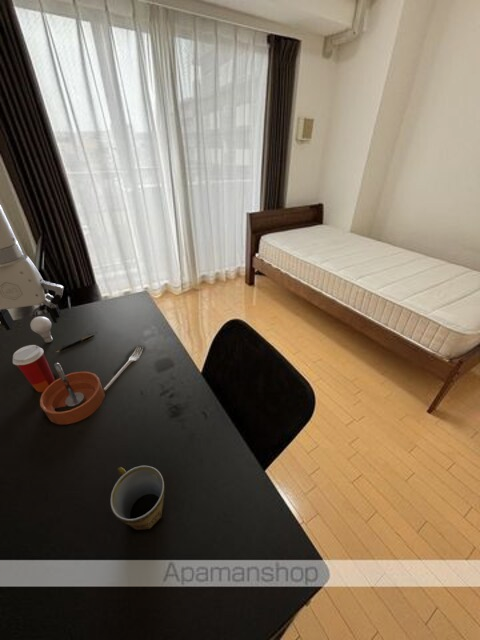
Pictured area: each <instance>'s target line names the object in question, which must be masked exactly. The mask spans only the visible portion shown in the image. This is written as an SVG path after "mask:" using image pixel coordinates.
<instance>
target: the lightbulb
mask: <svg viewBox="0 0 480 640" xmlns="http://www.w3.org/2000/svg"><path fill="white" fill-rule="evenodd" d="M52 325H53V324H52V321H51V320H50V319H49V318H48V317H46V316H43V315H41V316H35V317H34V318H32V319H31V321H30V325H29V327H30V330H31V331H32V332H34V333H35V334H37V335H39V336H40V337H41V338H42V339H43V341H44V343H51V342H52V341H53V340H54V339H53V337H52V335H51V329H52Z"/></svg>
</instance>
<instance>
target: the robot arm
mask: <svg viewBox="0 0 480 640" xmlns="http://www.w3.org/2000/svg"><path fill="white" fill-rule="evenodd" d="M64 288H65V286H63V285H62V284H58V283H54V282H52V281H51V282H50V281H47V280H44V278H43V277H42V275H41V273H40V272H39V270H38V268H37V267H36V265H35V264H34V262H33V261H32V260H31V257H29V256H28V254H24V253H23V251H22V249H21V246H20V244H19V242H18V239H17V237H16V235H15V233H14V231H13V229H12V227H11V224H10V221H9V220H8V218H7V215H6V213H5V211H4V209H3V206H2V204H0V325H1V326H3V327H4V329H5V330H6V331H9V330H10V331H11V329H12V328H13V326H14V325H15V320H14V318H13V317H12V315H11V313H10V311H9V310H11V309H19V308H25V307H33V306H38V305H41V304H43V305H45V306H46V307H48V308H47V311H48V313H49V315H50V317H51V320H52V322H53V323H54V324H58V323H59V321H60V318H61V317H62V312H61V310H60V307H59V305H58V303H59V302H60V301H61V299H62V297H63V293H64ZM49 291H52V292H55V295H54V296H53V295H51V294H50V293H49Z"/></svg>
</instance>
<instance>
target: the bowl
mask: <svg viewBox="0 0 480 640" xmlns="http://www.w3.org/2000/svg"><path fill="white" fill-rule="evenodd" d="M65 376H66V378H67V380H68V382H69V384H70V386H71V388H72V389H73V391H74V393H76V392H81V393H83V394H84V396H85V398H86V402H84V403H83V404H82V405H80V406H78V407H76V408H74V409H68V410H64V411H56V410H55V409H58V408H63V407H67V406H66V404H65V400H66V398H67V397H68V396H69V393H68V391H67V389H66V387H65V385H64V383H63V381H62V380H61V378H60V377H59V378H56V379H55V381H54V382H53V383H51V384H50V385H49V386H48V387H47V388H46V389H45V391H44V392H41V395H40V398H39V406H40V408H41V410H42V411H43V413H44V415H45V416H46V417H47V419H48V420H49V421H50V422H52V423H54V424H56V425H69V424H70V425H71V424H75V423H78V422H80V421H82V420H85V419H87V418H88V417H89V416H91V415H92V414H93V413H95V412H96V411H97V410H98V409H99V408H100V406H101V405H102V403H103V401H104V400H105V397H106V393H105V392H106V391H104V388H103V385H102V382H101V380H100V378H99V377H98V375H96V374H95V373H94V372H90V371H75V372H70V373H68V374H65Z"/></svg>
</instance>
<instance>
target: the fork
mask: <svg viewBox="0 0 480 640" xmlns="http://www.w3.org/2000/svg"><path fill="white" fill-rule="evenodd" d="M143 350H144V347H142V346H136V348H135V349H134V351H133V352H132V354H131V355H130V357H129V358H128V360H127V361H126V363H124V365H122V367H121V368H120V369H119V370H118V371H117V373H116V374H115V375H114V376H113V377H112V379H110V381H109V382H108V383H107V384H106V385H105V386H104V388H103V390H104V392H106V391H107V390H108V389H109V388H110V387H111V386H112V384H114V382H115V381H116V380H117V379H118V378H119V377H120V375H121V374H122V373H123V372H124V371H125V370H126V369H127V368H128V366H129V365H130V364H131V363H132V362H138V360H139V359H141V356H142V353H143Z"/></svg>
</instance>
